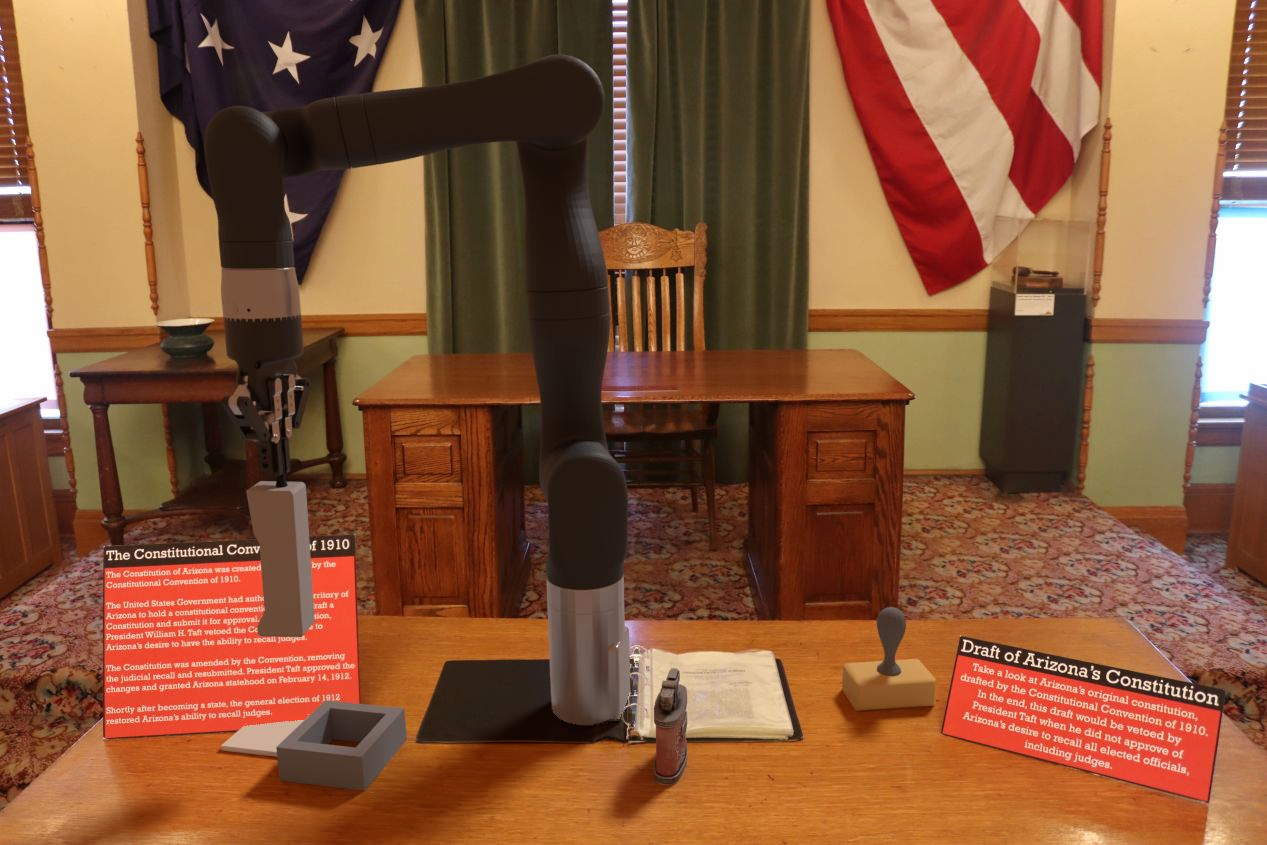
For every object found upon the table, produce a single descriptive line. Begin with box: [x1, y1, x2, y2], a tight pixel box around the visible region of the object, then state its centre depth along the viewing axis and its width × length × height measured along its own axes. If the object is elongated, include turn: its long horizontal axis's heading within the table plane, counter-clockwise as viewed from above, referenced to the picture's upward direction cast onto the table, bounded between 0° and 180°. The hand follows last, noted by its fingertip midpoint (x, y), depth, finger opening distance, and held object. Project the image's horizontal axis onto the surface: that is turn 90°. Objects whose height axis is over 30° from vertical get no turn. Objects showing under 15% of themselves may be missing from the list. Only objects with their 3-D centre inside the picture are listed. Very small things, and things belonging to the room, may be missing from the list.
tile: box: [220, 720, 304, 758], centre depth 109 cm, size 8×8×1 cm
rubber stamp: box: [841, 606, 937, 712], centre depth 114 cm, size 10×6×12 cm, turn 96°
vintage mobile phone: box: [246, 420, 316, 638], centre depth 100 cm, size 4×5×25 cm
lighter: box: [653, 667, 689, 786], centre depth 101 cm, size 8×3×10 cm, turn 168°
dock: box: [276, 700, 408, 792], centre depth 103 cm, size 10×10×4 cm
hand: (276, 473), depth 99 cm, fingers closed on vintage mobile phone, 1 cm apart
